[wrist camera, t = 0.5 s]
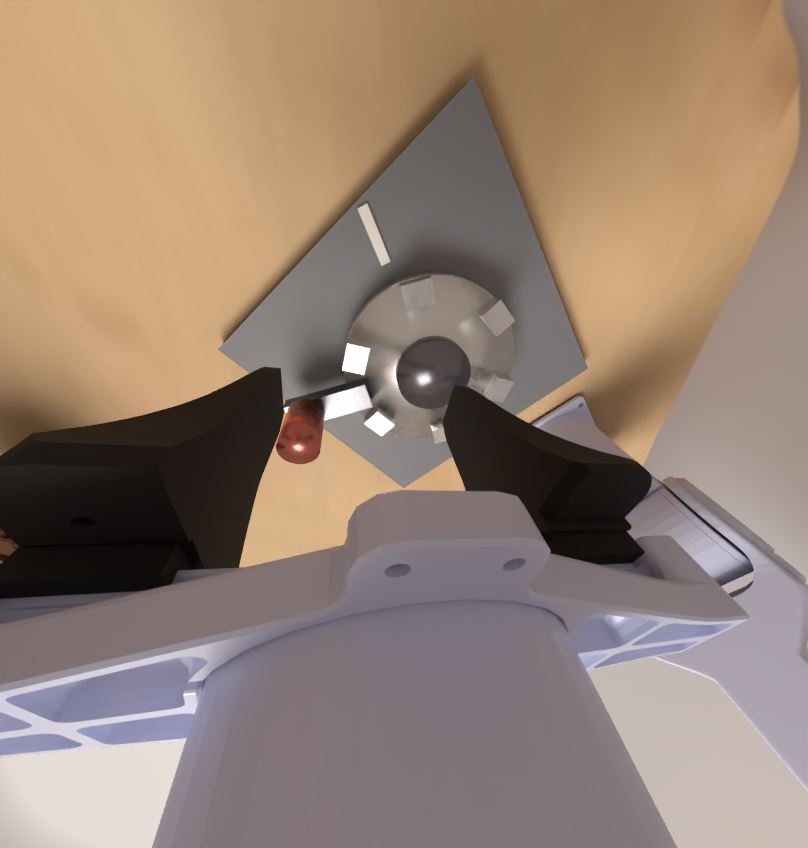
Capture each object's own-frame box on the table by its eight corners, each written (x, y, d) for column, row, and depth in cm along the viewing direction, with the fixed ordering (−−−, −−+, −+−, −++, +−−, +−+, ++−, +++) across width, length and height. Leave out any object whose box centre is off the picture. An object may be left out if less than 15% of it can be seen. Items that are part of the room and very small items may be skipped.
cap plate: (580, 363, 25) (589, 369, 24) (402, 480, 30) (404, 489, 29) (467, 83, 14) (475, 73, 13) (223, 343, 20) (216, 350, 19)
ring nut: (503, 246, 17) (563, 260, 12) (505, 404, 25) (544, 452, 20) (251, 320, 18) (213, 361, 13) (326, 454, 25) (320, 513, 20)
